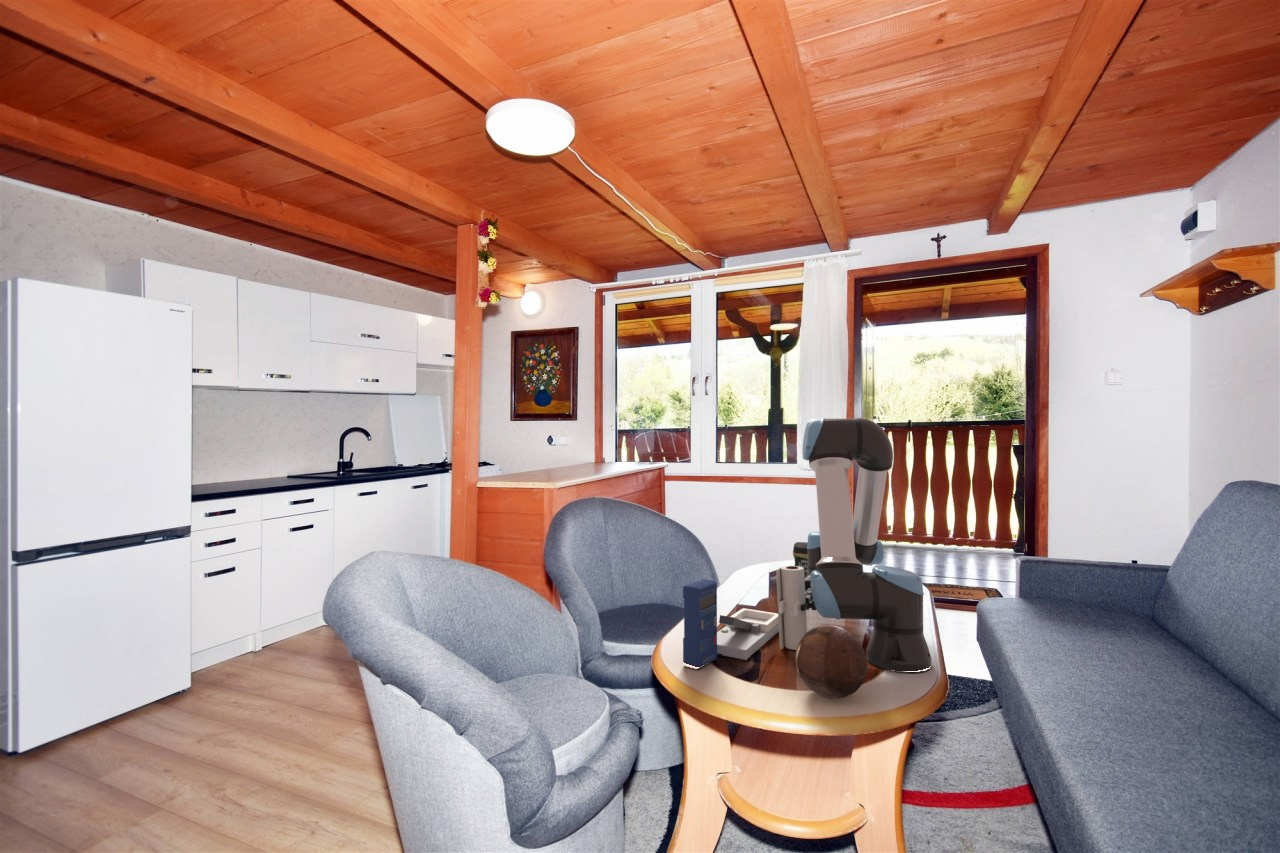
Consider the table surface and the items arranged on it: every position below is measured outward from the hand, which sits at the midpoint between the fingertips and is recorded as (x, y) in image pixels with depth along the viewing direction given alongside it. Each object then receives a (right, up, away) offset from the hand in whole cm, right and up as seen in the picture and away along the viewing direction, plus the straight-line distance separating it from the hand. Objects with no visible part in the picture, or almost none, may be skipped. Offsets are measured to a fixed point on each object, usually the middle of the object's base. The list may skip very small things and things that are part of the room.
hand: (787, 609), depth 157 cm
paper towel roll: (+3, -12, +4) cm, 13 cm away
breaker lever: (-9, -8, +11) cm, 17 cm away
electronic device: (-24, -12, -7) cm, 27 cm away
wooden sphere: (+3, -11, -26) cm, 28 cm away
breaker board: (-9, -12, +11) cm, 19 cm away
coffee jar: (+22, -13, +60) cm, 66 cm away
